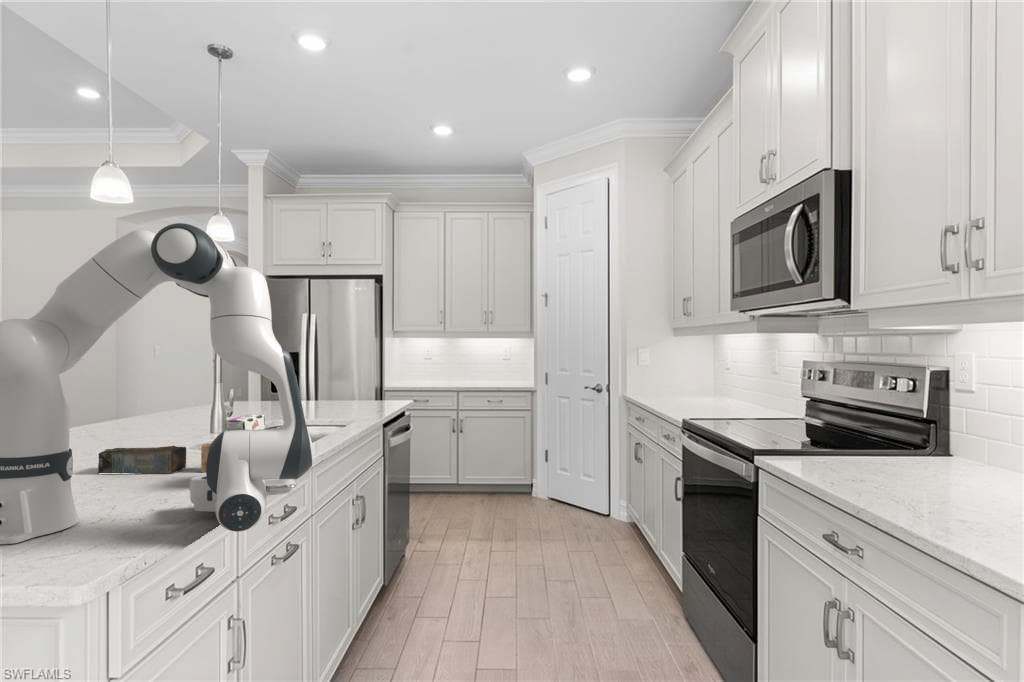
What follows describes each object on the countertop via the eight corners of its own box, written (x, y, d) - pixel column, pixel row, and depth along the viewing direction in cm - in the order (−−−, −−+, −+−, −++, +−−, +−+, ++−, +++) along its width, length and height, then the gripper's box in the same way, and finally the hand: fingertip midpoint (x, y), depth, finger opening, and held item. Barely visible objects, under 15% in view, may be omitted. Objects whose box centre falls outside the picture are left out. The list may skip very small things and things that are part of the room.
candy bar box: (246, 477, 150) (246, 413, 150) (265, 477, 149) (266, 414, 149) (223, 488, 138) (224, 419, 138) (244, 488, 138) (245, 420, 138)
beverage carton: (115, 468, 159) (115, 444, 159) (188, 468, 160) (188, 444, 160) (96, 475, 151) (97, 450, 151) (173, 475, 152) (173, 450, 152)
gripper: (297, 471, 121) (294, 459, 134) (186, 480, 113) (193, 465, 126) (297, 502, 121) (293, 486, 134) (185, 512, 113) (193, 494, 126)
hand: (244, 476), depth 130 cm, fingers closed
